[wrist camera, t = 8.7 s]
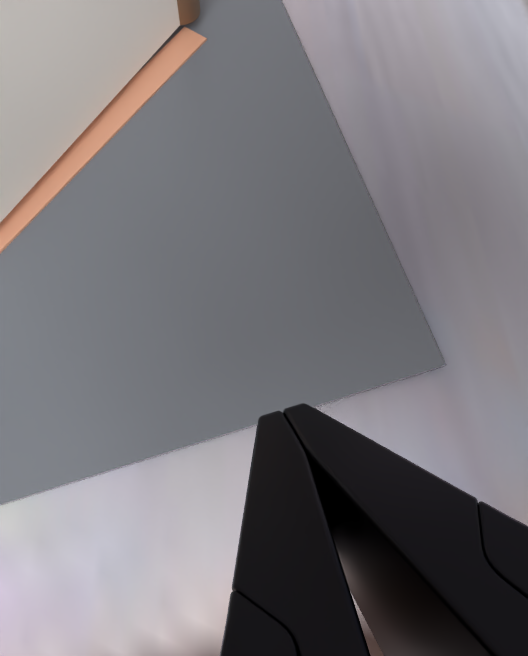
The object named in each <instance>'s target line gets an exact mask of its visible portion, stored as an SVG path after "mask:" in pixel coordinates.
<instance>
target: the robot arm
mask: <svg viewBox="0 0 528 656" xmlns="http://www.w3.org/2000/svg"><path fill="white" fill-rule="evenodd" d="M232 590H233V592H232V593H231V595H230V601H229V607H228V614H227V620H226V626H225V631H224V636H223V641H222V647H221V652H220V656H370V653H369V650H368V646H367V643H366V640H365V637H364V634H363V630H362V627H361V624H360V621H359V618H358V615H357V611H356V608H355V605H354V602H353V599H352V596H351V593H352V595H353V597H354V599H355V601H356V603H357V605H358V606H359V608H360V610H361V612H362V614H363V616H364V618H365V620H366V622H367V624H368V626H369V628H370V629H371V631H372V633H373V635H374V637H375V639H376V641H377V643H378V645H379V647H380V649H381V651H382V652H383V654H384V656H528V526H526V525H525V524H523V523H521V522H519V521H517V520H515V519H513V518H511V517H509V516H508V515H506V514H504V513H502V512H500V511H499V510H497V509H495V508H493V507H491V506H490V505H488V504H486V503H484V502H479V503H478V501H477V499H476V498H475V497H473V496H471V495H469V494H468V493H466V492H464V491H462V490H460V489H459V488H457V487H455V486H453V485H451V484H450V483H448V482H446V481H444V480H442V479H441V478H439V477H437V476H435V475H434V474H432V473H430V472H428V471H426V470H425V469H423V468H421V467H419V466H417V465H416V464H414V463H412V462H410V461H408V460H407V459H405V458H403V457H401V456H399V455H398V454H396V453H394V452H392V451H390V450H389V449H387V448H385V447H383V446H381V445H380V444H378V443H376V442H374V441H373V440H371V439H369V438H367V437H365V436H364V435H362V434H360V433H358V432H356V431H355V430H353V429H351V428H349V427H347V426H346V425H344V424H342V423H340V422H338V421H337V420H335V419H333V418H331V417H329V416H328V415H326V414H324V413H322V412H320V411H319V410H317V409H315V408H313V407H311V406H310V405H308V404H305V403H301V404H298V405H294V406H291V407H288V408H285V409H284V410H283V413H282V412H281V411H275V412H272V413H268V414H265V415H262V416H260V417H259V419H258V424H257V430H256V437H255V443H254V449H253V456H252V462H251V469H250V475H249V481H248V488H247V494H246V501H245V507H244V513H243V520H242V526H241V533H240V539H239V545H238V552H237V558H236V565H235V571H234V577H233V584H232ZM350 591H351V592H350Z"/></svg>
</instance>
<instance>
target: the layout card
mask: <svg viewBox="0 0 528 656" xmlns="http://www.w3.org/2000/svg"><path fill="white" fill-rule="evenodd" d="M199 1H200V15H199V17H198V18H197V19H196V20H195V21H193V22H192V23H189V24H186V25H180V26H179V27H178V28H177V29H176V30H175V31H174V32H173V33H172V35H171V36H170V37H169V38H168V39H167V40H166V41H165V42H164V43H163V44H162V46H161V47H160V48H159V49H158V50H157V51H156V52H155V53H154V54H153V55H152V57H151V58H150V59H149V60H148V61H147V62H146V63H145V64H144V65H143V66H142V68H141V69H140V70H139V71H138V72H137V73H136V74H135V75H134V76H133V77H132V79H131V80H130V81H129V82H128V83H127V84H126V85H125V86H124V87H123V88H122V90H121V91H120V92H119V93H118V94H117V95H116V96H115V97H114V98H113V99H112V101H111V102H110V103H109V104H108V105H107V106H106V107H105V108H104V109H103V110H102V112H101V113H100V114H99V115H98V116H97V117H96V118H95V119H94V120H93V121H92V123H91V124H90V125H89V126H88V127H87V128H86V129H85V130H84V131H83V132H82V134H81V135H80V136H79V137H78V138H77V139H76V140H75V141H74V142H73V143H72V145H71V146H70V147H69V148H68V149H67V150H66V151H65V152H64V153H63V154H62V156H61V157H60V158H59V159H58V160H57V161H56V162H55V163H54V164H53V165H52V167H51V168H50V169H49V170H48V171H47V172H46V173H45V174H44V175H43V176H42V178H41V179H40V180H39V181H38V182H37V183H36V184H35V185H34V186H33V187H32V189H31V190H30V191H29V192H28V193H27V194H26V195H25V196H24V197H23V198H22V200H21V201H20V202H19V203H18V204H17V205H16V206H15V207H14V208H13V209H12V211H11V212H10V213H9V214H8V215H7V216H6V217H5V218H4V219H3V220H2V222H1V223H0V505H4V504H7V503H10V502H13V501H16V500H20V499H23V498H26V497H29V496H32V495H35V494H39V493H42V492H45V491H48V490H51V489H55V488H58V487H61V486H64V485H67V484H71V483H74V482H77V481H80V480H83V479H86V478H90V477H93V476H96V475H99V474H102V473H106V472H109V471H112V470H115V469H118V468H122V467H125V466H128V465H131V464H134V463H137V462H141V461H144V460H147V459H150V458H153V457H157V456H160V455H163V454H166V453H169V452H173V451H176V450H179V449H182V448H185V447H188V446H192V445H195V444H198V443H201V442H204V441H208V440H211V439H214V438H217V437H220V436H224V435H227V434H230V433H233V432H236V431H239V430H243V429H246V428H249V427H252V426H255V425H257V424H258V419H259V417H260V416H262V415H265V414H268V413H272V412H275V411H281V412H282V413H283V410H284V409H285V408H288V407H291V406H294V405H298V404H301V403H305V404H308V405H310V406H311V407H316V406H319V405H322V404H326V403H329V402H332V401H335V400H338V399H341V398H345V397H348V396H351V395H354V394H357V393H361V392H364V391H367V390H370V389H373V388H377V387H380V386H383V385H386V384H389V383H392V382H396V381H399V380H402V379H405V378H408V377H412V376H415V375H418V374H421V373H424V372H428V371H431V370H434V369H437V368H440V367H443V366H445V365H446V363H445V361H444V359H443V357H442V355H441V352H440V350H439V348H438V346H437V343H436V341H435V339H434V337H433V335H432V332H431V330H430V328H429V326H428V324H427V321H426V319H425V317H424V315H423V312H422V310H421V308H420V306H419V304H418V301H417V299H416V297H415V295H414V293H413V290H412V288H411V286H410V284H409V281H408V279H407V277H406V275H405V273H404V270H403V268H402V266H401V264H400V262H399V259H398V257H397V255H396V253H395V250H394V248H393V246H392V244H391V242H390V239H389V237H388V235H387V233H386V231H385V228H384V226H383V224H382V222H381V219H380V217H379V215H378V213H377V211H376V208H375V206H374V204H373V202H372V200H371V197H370V195H369V193H368V191H367V188H366V186H365V184H364V182H363V180H362V177H361V175H360V173H359V171H358V169H357V166H356V164H355V162H354V160H353V158H352V155H351V153H350V151H349V149H348V146H347V144H346V142H345V140H344V138H343V135H342V133H341V131H340V129H339V127H338V124H337V122H336V120H335V118H334V115H333V113H332V111H331V109H330V107H329V104H328V102H327V100H326V98H325V96H324V93H323V91H322V89H321V87H320V84H319V82H318V80H317V78H316V76H315V73H314V71H313V69H312V67H311V65H310V62H309V60H308V58H307V56H306V53H305V51H304V49H303V47H302V45H301V42H300V40H299V38H298V36H297V34H296V31H295V29H294V27H293V25H292V22H291V20H290V18H289V16H288V14H287V11H286V9H285V7H284V5H283V3H282V0H199Z"/></svg>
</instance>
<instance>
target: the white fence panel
mask: <svg viewBox="0 0 528 656" xmlns="http://www.w3.org/2000/svg"><path fill="white" fill-rule="evenodd" d="M199 15H200V1H199V0H0V223H1V222H2V220H3V219H4V218H5V217H6V216H7V215H8V214H9V213H10V212H11V211H12V209H13V208H14V207H15V206H16V205H17V204H18V203H19V202H20V201H21V200H22V198H23V197H24V196H25V195H26V194H27V193H28V192H29V191H30V190H31V189H32V187H33V186H34V185H35V184H36V183H37V182H38V181H39V180H40V179H41V178H42V176H43V175H44V174H45V173H46V172H47V171H48V170H49V169H50V168H51V167H52V165H53V164H54V163H55V162H56V161H57V160H58V159H59V158H60V157H61V156H62V154H63V153H64V152H65V151H66V150H67V149H68V148H69V147H70V146H71V145H72V143H73V142H74V141H75V140H76V139H77V138H78V137H79V136H80V135H81V134H82V132H83V131H84V130H85V129H86V128H87V127H88V126H89V125H90V124H91V123H92V121H93V120H94V119H95V118H96V117H97V116H98V115H99V114H100V113H101V112H102V110H103V109H104V108H105V107H106V106H107V105H108V104H109V103H110V102H111V101H112V99H113V98H114V97H115V96H116V95H117V94H118V93H119V92H120V91H121V90H122V88H123V87H124V86H125V85H126V84H127V83H128V82H129V81H130V80H131V79H132V77H133V76H134V75H135V74H136V73H137V72H138V71H139V70H140V69H141V68H142V66H143V65H144V64H145V63H146V62H147V61H148V60H149V59H150V58H151V57H152V55H153V54H154V53H155V52H156V51H157V50H158V49H159V48H160V47H161V46H162V44H163V43H164V42H165V41H166V40H167V39H168V38H169V37H170V36H171V35H172V33H173V32H174V31H175V30H176V29H177V28H178V27H179V26H180V25H186V24H189V23H192V22H193V21H195V20H196V19H197V18H198V17H199Z"/></svg>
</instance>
